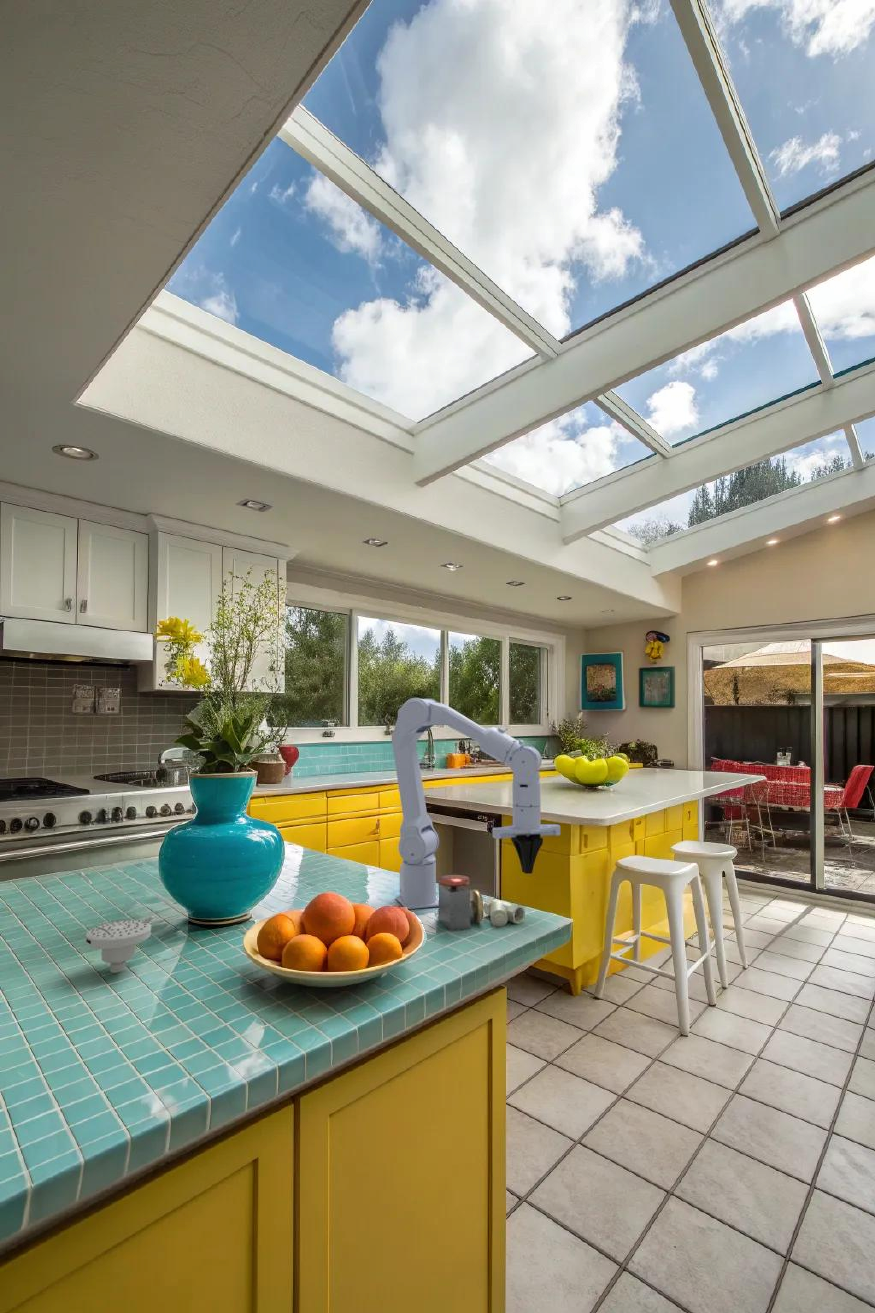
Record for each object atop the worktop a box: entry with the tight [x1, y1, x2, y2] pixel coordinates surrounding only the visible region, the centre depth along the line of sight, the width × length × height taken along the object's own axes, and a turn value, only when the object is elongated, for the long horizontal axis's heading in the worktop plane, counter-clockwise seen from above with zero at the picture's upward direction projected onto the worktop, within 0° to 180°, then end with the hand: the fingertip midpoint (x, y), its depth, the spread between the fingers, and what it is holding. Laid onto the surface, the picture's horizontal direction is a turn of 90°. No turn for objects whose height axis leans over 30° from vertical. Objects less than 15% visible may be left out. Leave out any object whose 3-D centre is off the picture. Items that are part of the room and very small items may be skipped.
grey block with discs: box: [438, 874, 485, 931], centre depth 129 cm, size 7×8×9 cm
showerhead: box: [85, 916, 153, 974], centre depth 106 cm, size 9×7×10 cm
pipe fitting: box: [483, 896, 526, 927], centre depth 130 cm, size 8×4×7 cm
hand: (527, 872), depth 135 cm, fingers closed
